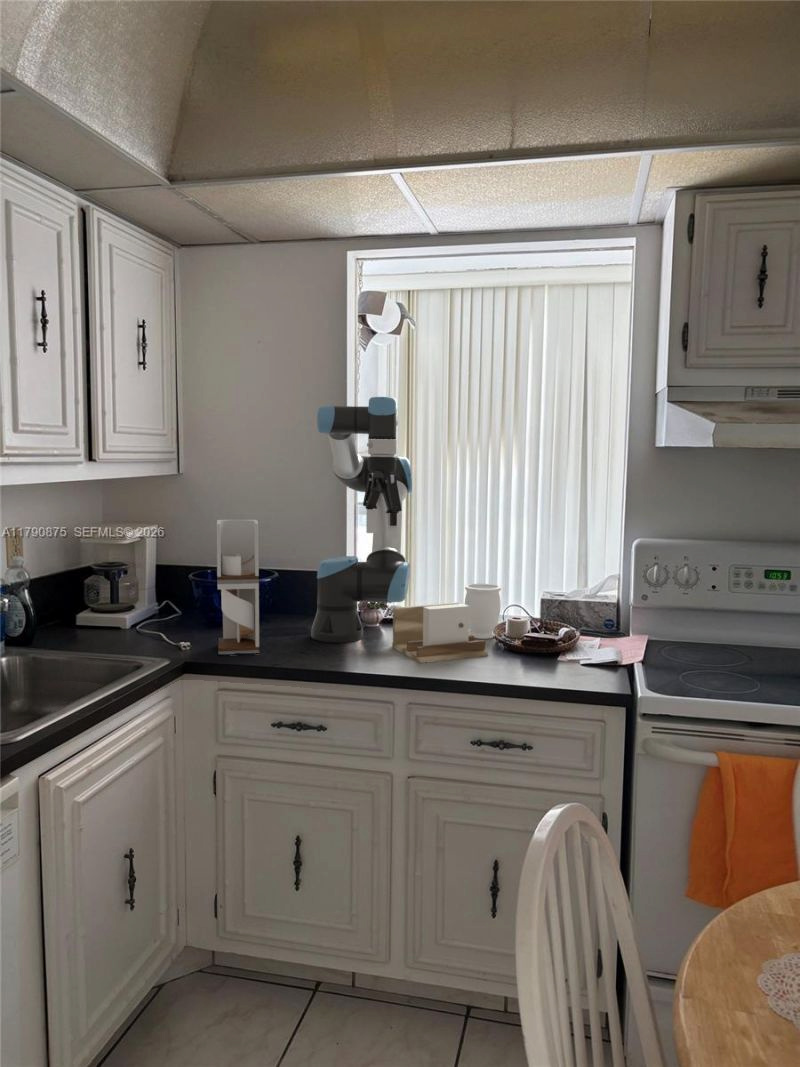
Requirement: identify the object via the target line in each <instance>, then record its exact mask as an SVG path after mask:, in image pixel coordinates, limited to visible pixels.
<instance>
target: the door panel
mask: <svg viewBox="0 0 800 1067" xmlns="http://www.w3.org/2000/svg"><path fill="white" fill-rule="evenodd" d="M468 641H469V606H468V605H465V603H459V604H453V605H441V606H428V607H423V646H429V645H439V644H449V643H458V642H468Z"/></svg>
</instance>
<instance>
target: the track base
mask: <svg viewBox="0 0 800 1067" xmlns="http://www.w3.org/2000/svg"><path fill="white" fill-rule="evenodd" d="M453 604H460V603H459V602H448V603H436V604H435V603H434V604H425V605H423V604H421V605H411V606H410V605H408V606H397V607H392V642H391V643H392V644H391V645H392V646H391V647H392V648H394V649H395V650H397V651H398V652H400V653H402V654H404V655H405V654H406V656H407V657H409V658H410V659H412V660H414V661H416V662H418V663H420V664H426V663H425V662H427V663H434V662H435V661H436V662H443V661H442V660H445V661H451V659H454V660H460V659H461V660H462V659H469V658H479V657H487V656H488V653H489V651H488V650H486V640H485V639H477V640H475V638H474V636H473V635H469V641H468V642H458V643H449V644H439V645H429V646H423V607H428V606H441V605H453Z"/></svg>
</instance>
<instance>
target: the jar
mask: <svg viewBox="0 0 800 1067" xmlns="http://www.w3.org/2000/svg"><path fill="white" fill-rule="evenodd" d="M464 590H465V591H466V594H465V598H464V604H465V605H468V606H469V635H473V636H474V639H477V640H487V639H488V640H491V639H494V638H493V636H492V631H493V629H494V628H495V626H497V627H498V624H499V620H500V615H501V606H502V605H501V604H502V603H501V596H500V592H501V590H502V586H500V585H497V584H491V583H470V584H466V585H465V587H464Z"/></svg>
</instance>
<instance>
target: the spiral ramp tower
mask: <svg viewBox="0 0 800 1067" xmlns="http://www.w3.org/2000/svg"><path fill="white" fill-rule="evenodd" d="M259 554H260V552H259V522H258V519H217V521H216V566H217V567H216V576H217V579H216V580H217V582H216V584H217V590H220V594H221V596H220V597H221V600H220V601H221V611H222V637H219V638H218V647H217V648H218V649H217V652H218V653H217V654H235V653H259V654H260V598H259V597H260V590H259V589H260V580H259V576H260V575H259V571H260V569H259V568H260V566H259V563H260V562H259V559H260V558H259V556H260V555H259Z"/></svg>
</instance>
